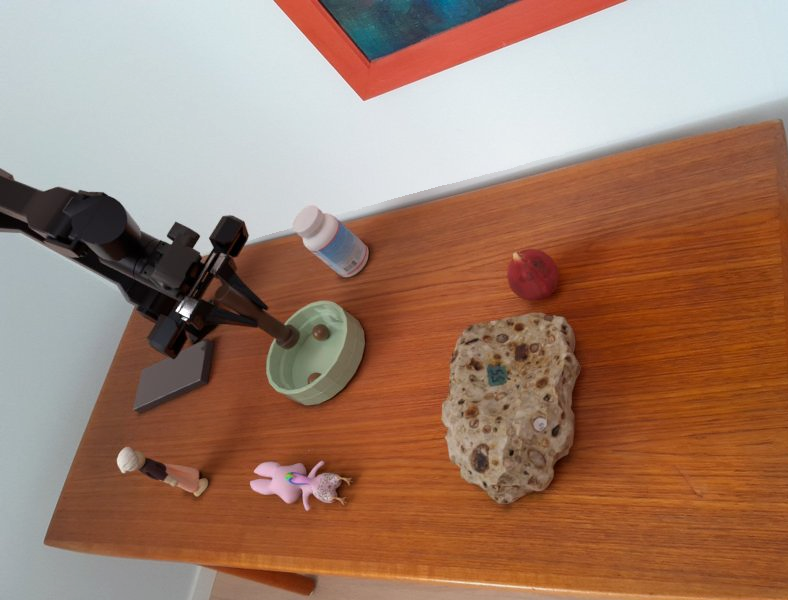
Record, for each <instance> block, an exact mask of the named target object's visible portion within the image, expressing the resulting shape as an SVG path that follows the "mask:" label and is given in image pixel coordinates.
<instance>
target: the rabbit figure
mask: <svg viewBox="0 0 788 600" xmlns="http://www.w3.org/2000/svg"><path fill="white" fill-rule="evenodd" d="M324 465H325V461H324V460H321V461H319V462H318V463H317V464H316V465H315V466H314V467H313V468H312V469H311V470H310V472H309V474H308V472H307V469H306V467H305V465H304V464H303V463H301V462H298V463H294V464H291V465H282V464H280V463H278V462H275V461H265V462H262V463H260V464H259V465H258V466H256V468H255V469H254V471H253V473H254V474H256V475H258V476H260V477H266V478H258V479H253V480H250V482H249V485H250V488H251V489H252V490H253V491H254V492H256V493H258V494H261V495H265V496H269V495H277V496H278V497H279V498H280V499H282V500H283V501H284V502H285V504H293V503H294V502H296V501H297V500H299V498H300V497H301V495H302V503H303V506H304V510H305V511H307V512H309V511H310V510H311V506H310V504H309V497H310V495H313V496H314V497H315V498H316V499H317V500H319V501H321V502H323V503H326V504H333V503H335V502H336V501H340V502H341V504H342V505H345V503H346V504H347V503H348V502H347V501H345V500H346V498H347V496H344V497H338V493H337V489H338V488H340V486H342V483H343V481H342V480H344V481H345V482H346V483H347V484H348V486H351V484H350V483H353V481H352V479H353V477H341V475H339V474H337V473H332V472H323V473H319V474H318V475H317V472H318V470H319V469H320V468H321V467H323V466H324ZM307 474H308V475H307ZM269 478H271V479H269Z"/></svg>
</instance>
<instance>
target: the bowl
mask: <svg viewBox="0 0 788 600" xmlns="http://www.w3.org/2000/svg"><path fill="white" fill-rule="evenodd" d="M284 324H285V325H289V324H290V325H293V326H294V327H295V328H297V329H298V330H299V332H300V338H299V340H298V342H297V344H296V345H295V346H294V347H292V348H291V349H283V348H282V347H280V346H279V345H277V343H276V339H275V338H274V339H273V340H272V342H271V344H270V347H269V350H268V353H267V357H266V367H265V368H266V369H265V370H266V371H265V373H266V377H267V380H268V384H269V385H270V386H271V387H272V388H273V389H274V390H275V391H276V392H277V393H279V394H281V395H283V396H284V397H286V398H288V399H289V400H292V401H293V402H294V403H298V404H301V405H302V406H303V405H304V406H313V405H320V404H322V403H324V402H326V401H328V400H330V399H332V398H333V397H334V396H336V395H337V394H338V393H340V392H341V391H342V390H343V389H344V388H345V387H346V386H347V385H348V383H349V382H350V381H351V379H352V378H353V377H354V376H355V374H356V373H357V370H358V367H359V366H360V364H361V361H362V359H363V354H364V350H365V346H366V341H365V331H364V329H363V326H362V325H361V323H360V321H359V320H358V319H357V318H355V317H354V316H353V315H352V314H350V313H349V312H348V311H347V310H346V309H344V308H343V307H341V305H339V304H337V303H336V302H335V301H329V300H323V299H322V300H318V301H314V302H311V303H309V304H307V305H305V306H304V307H302V308H299V309H298V310H296V311H295V313H293V314H292V315H290V317H288V319H287V320H286V321H285V323H284ZM318 324H323V325H326V326H327V327H328V329H329V336H328V338H327V339H326V340H323V341H318V340H316V339H315V338H314V337H313V335H312V330H313V328H314V327H315V326H316V325H318ZM316 372H317V373H321V374H322V375H321V376H319V377H318V378H317V379H316V380H315V381H314V382H312V383H310V384H308V382H307V381H308V377H309V376H310V375H311V374H312V373H316Z"/></svg>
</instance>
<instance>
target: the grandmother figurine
mask: <svg viewBox="0 0 788 600" xmlns="http://www.w3.org/2000/svg"><path fill="white" fill-rule="evenodd" d="M116 463H117V467H118V469H119V470H120V472H121V473H122V474H127V473H128V472H133V471H139V472H140V473H142V474H143V475H145V476H147V477H148V478H150V479H152V480H155V481H160V482H163V483H166V484H167V485H170V486H171V487H174V488H175V487H177V488H178V487H179V488H180V489H183V490H184V491H186V492H188V493H193V494H192V495H194V496H195V497H197V498H198V497H200V496H201V495H202V494H203V493H204V492H205V491H206V490H207V488H208V486H209V480H208V479H207V478H206V477H205V478H204V477H202V478H200V471H199V470H198V469H197V468H195V467H194V468H193V467H190V466H186V465H182V464H173V463H165V462H161V461H157V460H154V459H152V458H149V457H146V456H145V454H144V453H143V452H141V451H140V450H133V447H130V446H125V447H124V448H122V449H121V451H120V452H119V453H118V455H117V458H116Z"/></svg>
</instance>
